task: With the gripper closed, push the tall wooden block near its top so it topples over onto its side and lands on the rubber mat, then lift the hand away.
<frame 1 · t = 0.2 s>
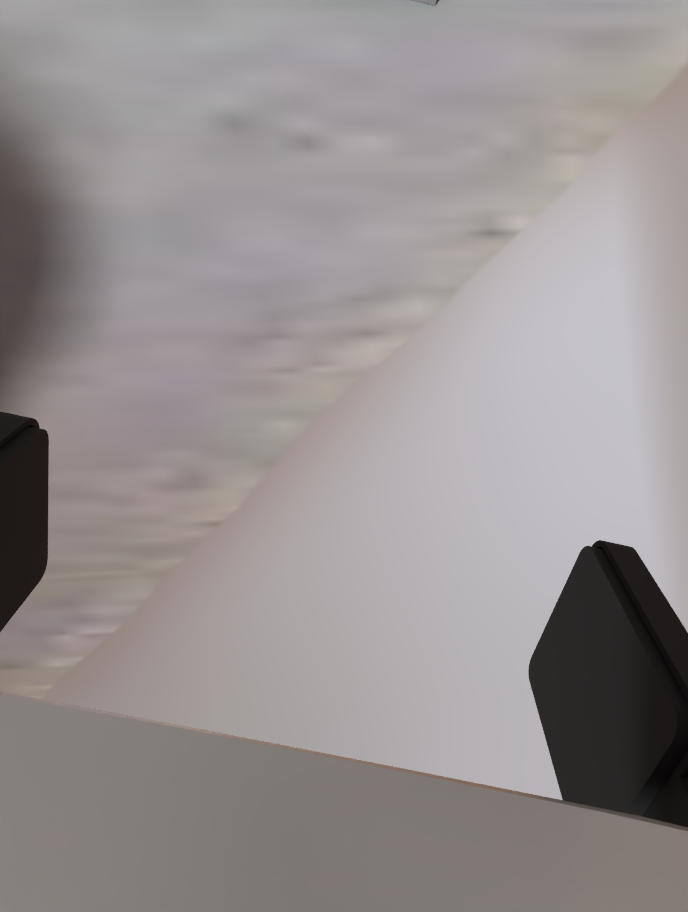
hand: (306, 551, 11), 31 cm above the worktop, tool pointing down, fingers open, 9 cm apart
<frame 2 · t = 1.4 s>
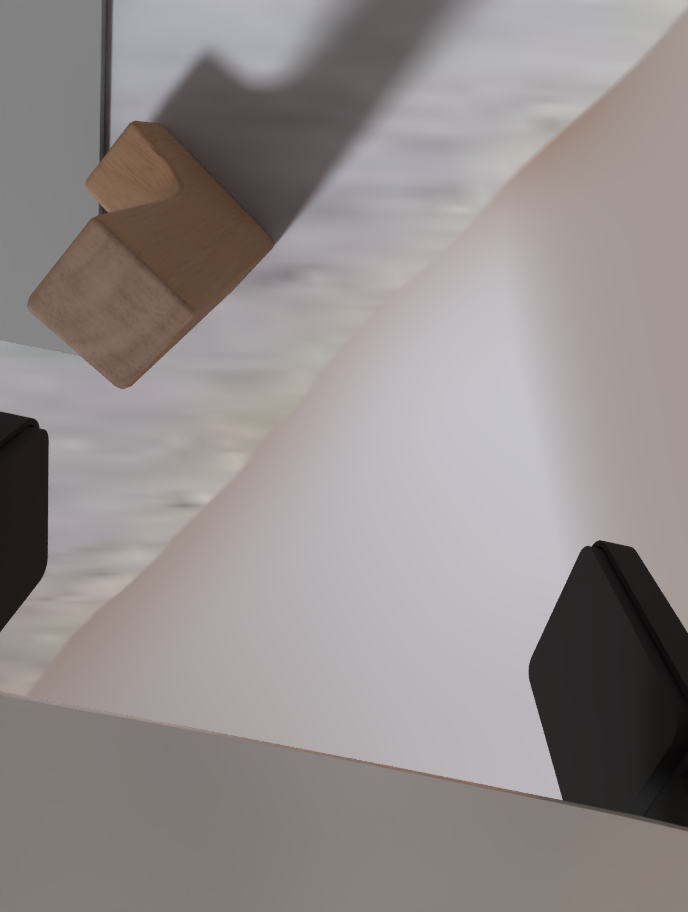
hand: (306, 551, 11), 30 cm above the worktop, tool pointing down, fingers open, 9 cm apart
wooden block: (197, 212, 38), on the worktop
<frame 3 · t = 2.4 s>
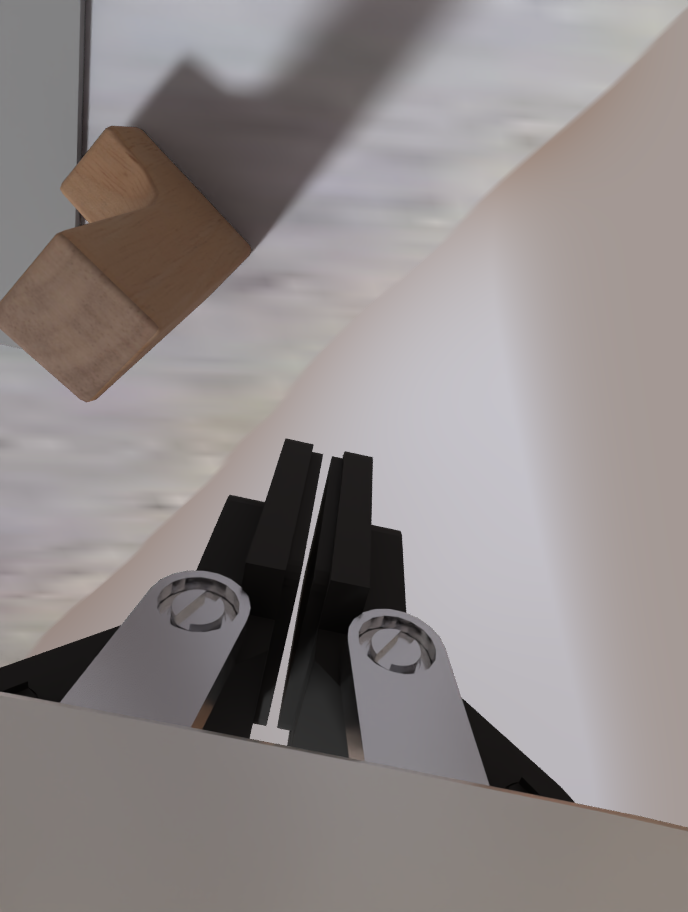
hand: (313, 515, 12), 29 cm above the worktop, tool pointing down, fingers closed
wooden block: (174, 216, 37), on the worktop
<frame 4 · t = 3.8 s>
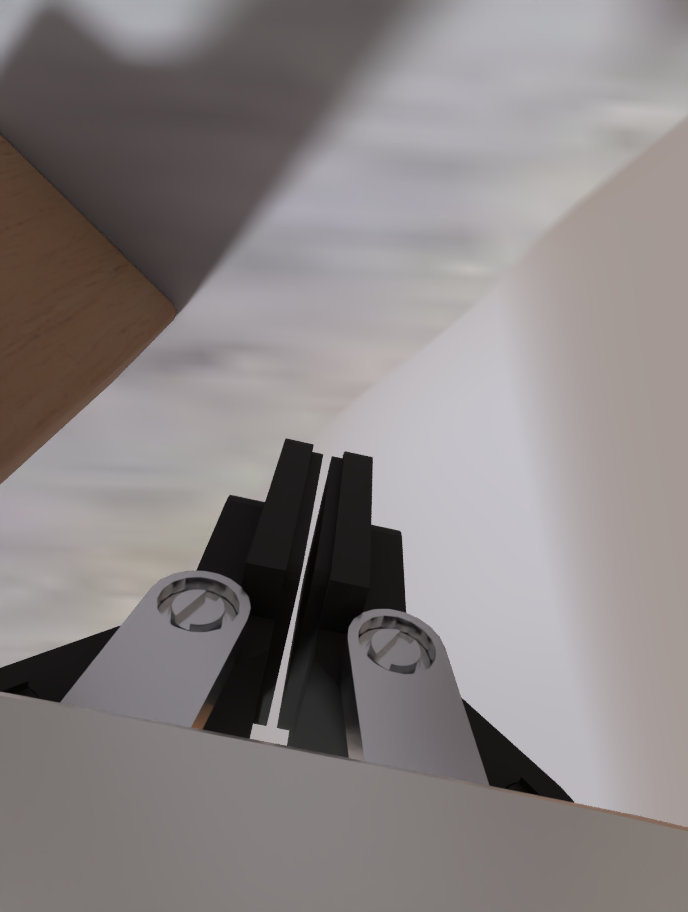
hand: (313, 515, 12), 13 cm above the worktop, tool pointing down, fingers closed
wooden block: (54, 258, 24), on the worktop
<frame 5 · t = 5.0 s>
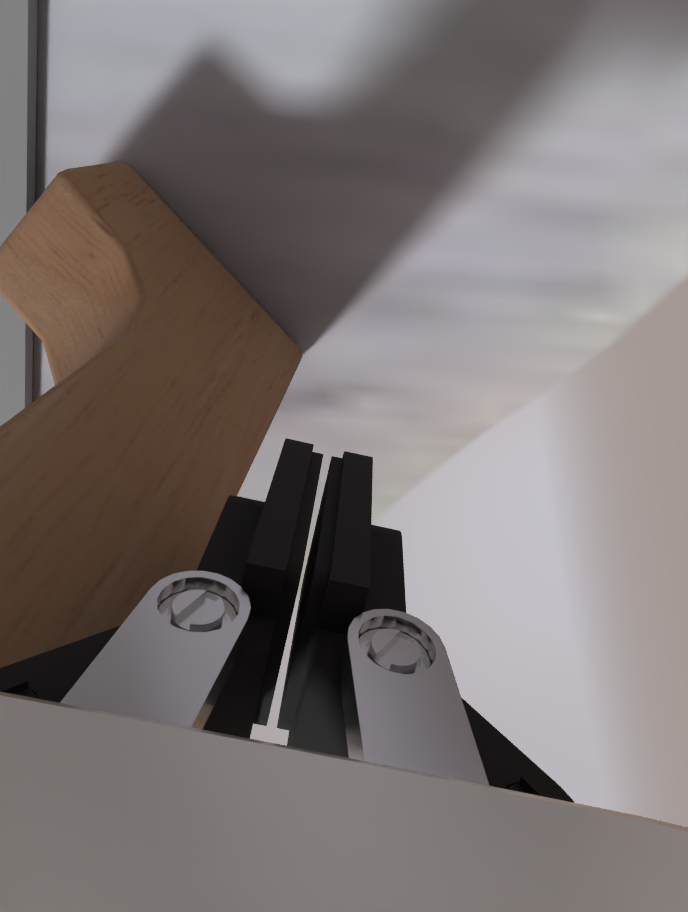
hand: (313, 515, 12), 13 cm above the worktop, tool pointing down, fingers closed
wooden block: (183, 299, 24), on the worktop
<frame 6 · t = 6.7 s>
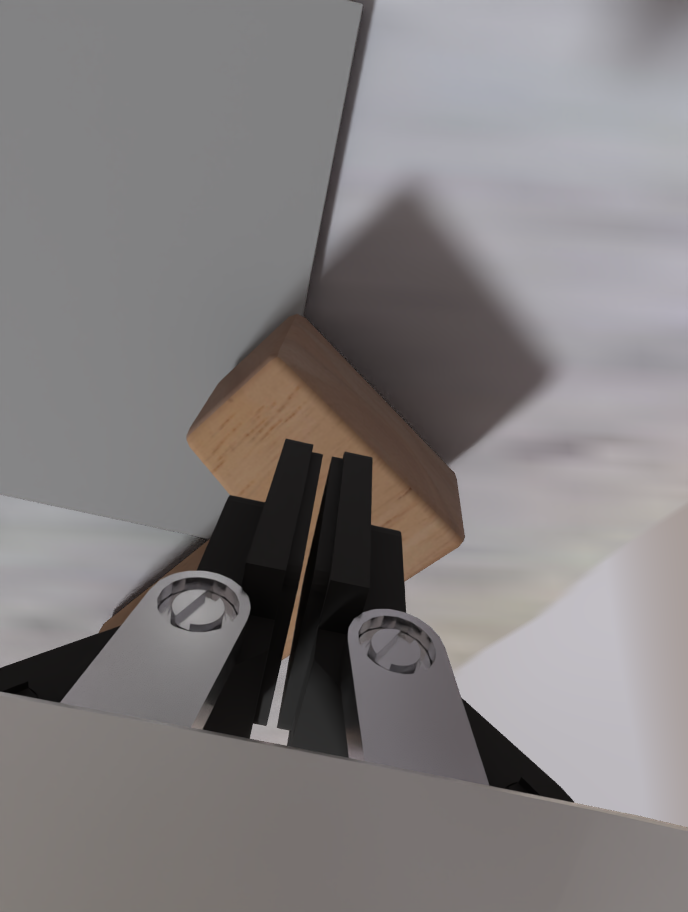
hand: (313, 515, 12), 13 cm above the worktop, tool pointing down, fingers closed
mat: (27, 260, 23), on the worktop
wooden block: (386, 418, 22), point 4 cm above the worktop, touching mat
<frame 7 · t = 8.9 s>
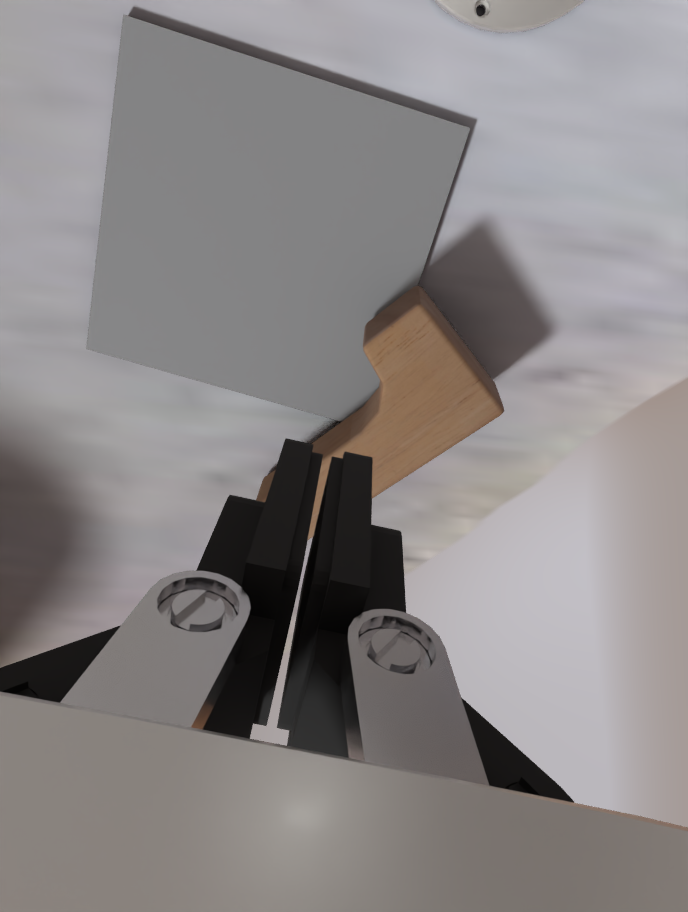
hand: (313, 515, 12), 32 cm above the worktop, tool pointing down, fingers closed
mat: (263, 246, 41), on the worktop
wooden block: (465, 344, 40), point 3 cm above the worktop, touching mat
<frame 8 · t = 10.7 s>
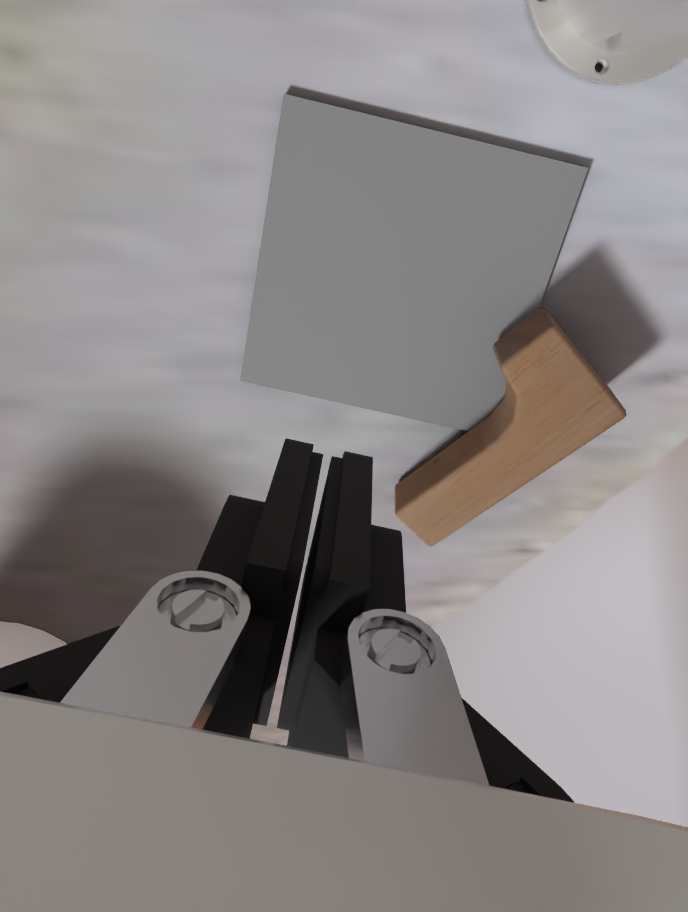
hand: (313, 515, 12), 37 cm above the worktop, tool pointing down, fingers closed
stepped white pillar: (21, 684, 67), on the worktop
mat: (399, 281, 46), on the worktop
wooden block: (588, 357, 45), point 3 cm above the worktop, touching mat
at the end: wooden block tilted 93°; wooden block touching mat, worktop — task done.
